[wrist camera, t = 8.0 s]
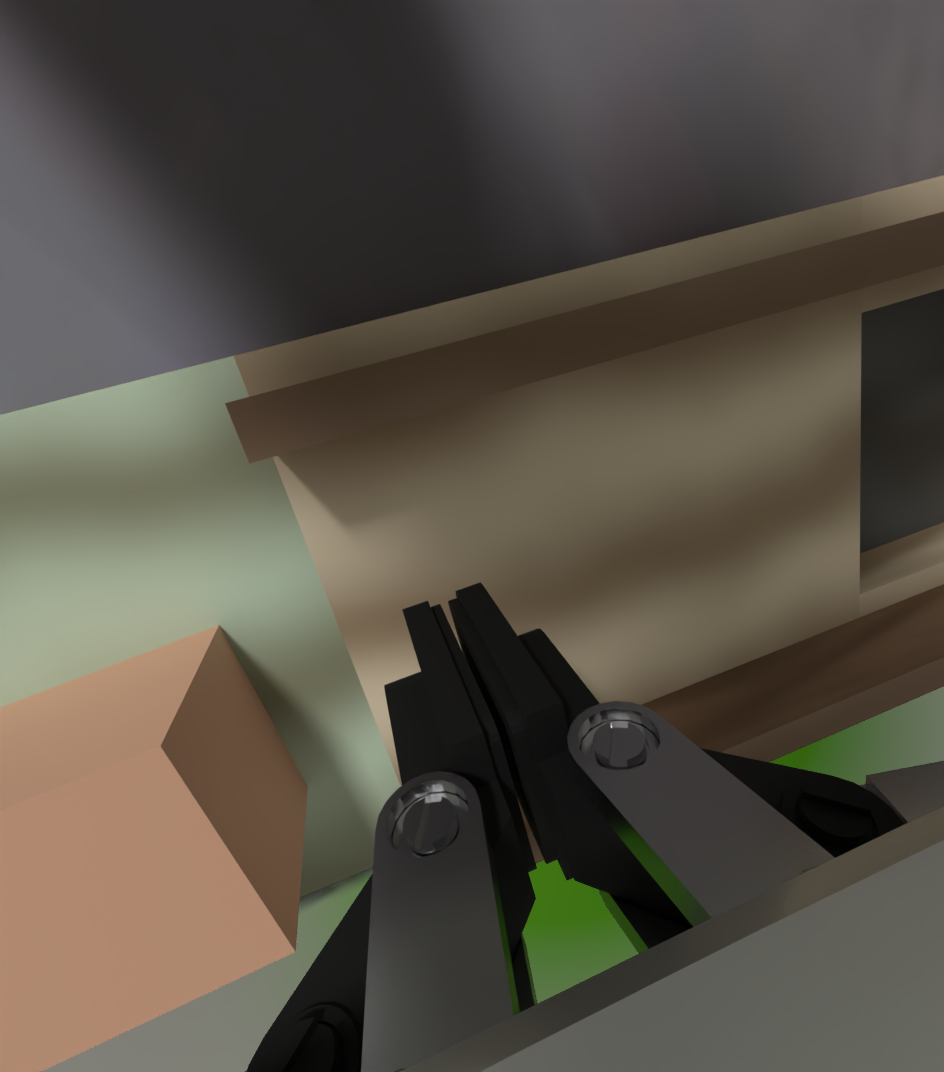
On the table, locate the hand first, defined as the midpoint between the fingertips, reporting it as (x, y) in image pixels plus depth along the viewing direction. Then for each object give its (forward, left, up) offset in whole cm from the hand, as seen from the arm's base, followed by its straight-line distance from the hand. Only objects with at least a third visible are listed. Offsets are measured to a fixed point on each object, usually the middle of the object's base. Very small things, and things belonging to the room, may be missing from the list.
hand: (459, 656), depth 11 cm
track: (+1, +7, -7) cm, 10 cm away
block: (+3, -8, -5) cm, 10 cm away
